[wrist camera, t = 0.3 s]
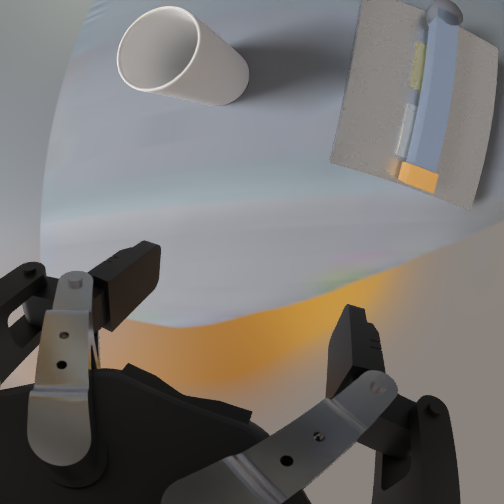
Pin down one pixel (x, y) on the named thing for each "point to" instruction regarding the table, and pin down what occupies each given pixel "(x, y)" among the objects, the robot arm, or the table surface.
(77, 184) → the table surface
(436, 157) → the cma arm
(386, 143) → the chassis
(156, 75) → the cup
